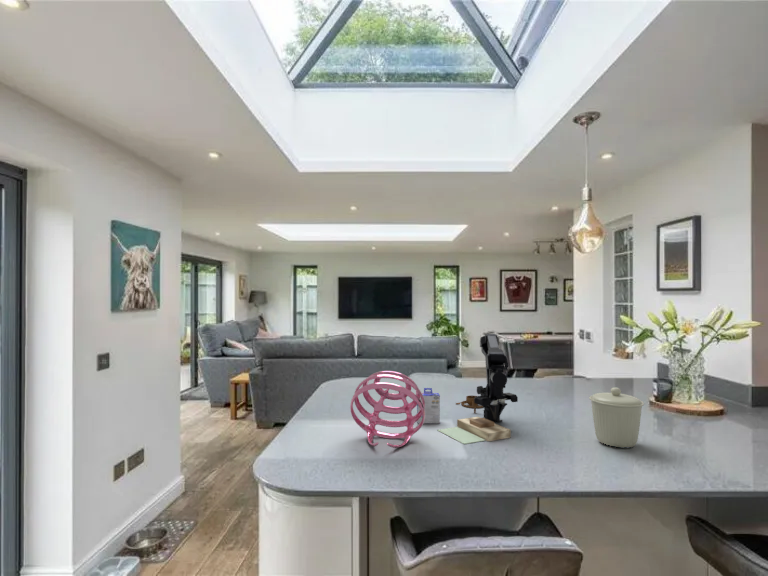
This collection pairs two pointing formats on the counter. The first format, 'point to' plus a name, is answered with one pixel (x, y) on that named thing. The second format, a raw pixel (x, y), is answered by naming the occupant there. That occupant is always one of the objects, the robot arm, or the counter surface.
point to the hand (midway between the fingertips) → (496, 420)
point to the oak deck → (484, 430)
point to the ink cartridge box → (430, 407)
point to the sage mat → (461, 435)
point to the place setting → (470, 403)
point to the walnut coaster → (481, 422)
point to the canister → (616, 418)
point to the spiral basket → (381, 407)
